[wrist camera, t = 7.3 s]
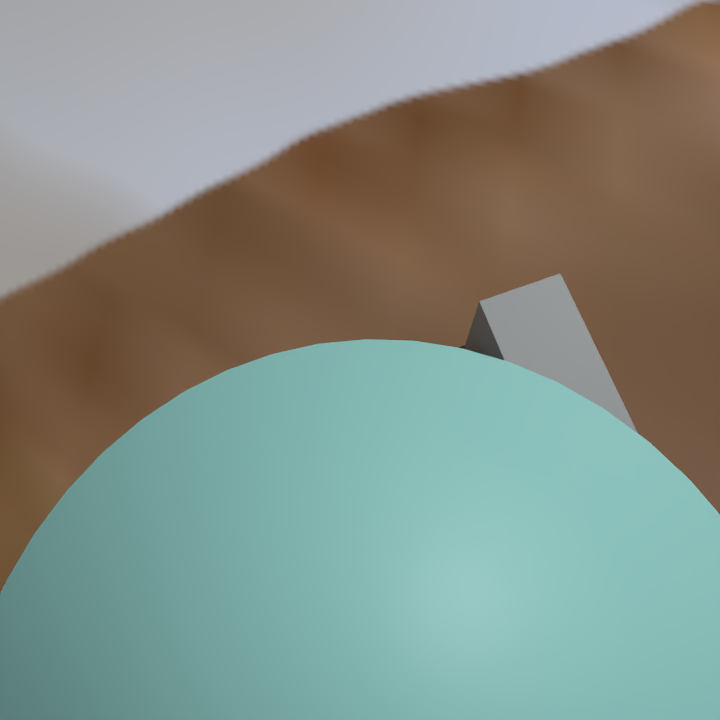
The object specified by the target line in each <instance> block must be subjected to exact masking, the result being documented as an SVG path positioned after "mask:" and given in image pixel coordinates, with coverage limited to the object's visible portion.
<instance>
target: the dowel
mask: <svg viewBox="0 0 720 720" xmlns="http://www.w3.org/2000/svg"><path fill="white" fill-rule="evenodd" d="M0 720H720V514H719V513H718V512H717V511H716V510H715V509H714V507H713V506H712V505H711V504H710V503H709V502H708V500H707V499H706V498H705V497H704V496H703V495H702V493H701V492H700V491H699V490H698V489H697V488H696V486H695V485H694V484H693V483H692V482H691V481H690V480H689V479H688V478H687V477H686V476H685V475H684V474H683V473H682V472H681V471H680V470H679V469H678V468H676V467H675V466H674V465H673V464H672V463H671V462H670V461H669V460H668V459H667V458H666V457H665V456H664V455H662V454H661V453H660V452H659V451H658V450H657V449H656V448H655V447H654V446H653V445H652V444H651V443H650V442H648V441H647V440H646V439H645V438H643V437H642V436H640V435H639V434H638V433H636V432H635V431H634V430H632V429H631V428H630V427H628V426H627V425H625V424H624V423H623V422H621V421H620V420H619V419H617V418H616V417H615V416H613V415H612V414H611V413H609V412H608V411H606V410H605V409H604V408H602V407H600V406H599V405H597V404H595V403H593V402H592V401H590V400H588V399H586V398H585V397H583V396H581V395H579V394H577V393H576V392H574V391H572V390H570V389H569V388H567V387H565V386H563V385H562V384H560V383H558V382H556V381H554V380H551V379H549V378H547V377H544V376H542V375H540V374H537V373H535V372H532V371H530V370H528V369H525V368H523V367H521V366H518V365H516V364H513V363H511V362H508V361H505V360H501V359H498V358H494V357H491V356H487V355H484V354H480V353H476V352H473V351H469V350H466V349H462V348H457V347H450V346H444V345H437V344H431V343H424V342H418V341H402V340H369V339H365V340H354V341H344V342H333V343H322V344H316V345H311V346H307V347H302V348H298V349H293V350H289V351H284V352H280V353H275V354H271V355H268V356H266V357H263V358H260V359H257V360H254V361H252V362H249V363H246V364H243V365H240V366H237V367H235V368H232V369H229V370H226V371H224V372H222V373H220V374H218V375H216V376H214V377H212V378H210V379H208V380H206V381H204V382H202V383H200V384H198V385H196V386H194V387H192V388H190V389H188V390H186V391H184V392H183V393H181V394H180V395H178V396H177V397H175V398H174V399H172V400H171V401H169V402H168V403H166V404H165V405H163V406H162V407H160V408H159V409H157V410H155V411H154V412H152V413H151V414H149V415H148V416H146V417H145V418H143V419H142V420H141V421H140V422H138V423H137V424H136V425H135V426H134V427H132V428H131V429H130V430H129V431H128V432H126V433H125V434H124V435H123V436H122V437H121V438H119V439H118V440H117V441H116V442H115V443H113V444H112V445H111V446H110V447H109V448H108V449H106V450H105V451H104V452H103V453H102V454H101V455H100V456H99V457H98V458H97V459H96V460H95V461H94V462H93V463H92V465H91V466H90V467H89V468H88V469H87V470H86V471H85V472H84V473H83V474H82V475H81V476H80V477H79V478H78V479H77V480H76V481H75V483H74V484H73V485H72V486H71V487H70V488H69V489H68V490H67V491H66V493H65V494H64V495H63V497H62V498H61V499H60V501H59V502H58V503H57V505H56V506H55V507H54V509H53V510H52V511H51V512H50V514H49V515H48V516H47V518H46V519H45V520H44V522H43V523H42V524H41V526H40V527H39V528H38V530H37V531H36V532H35V534H34V535H33V537H32V539H31V540H30V542H29V544H28V546H27V547H26V549H25V551H24V552H23V554H22V556H21V557H20V559H19V561H18V562H17V564H16V566H15V567H14V569H13V571H12V573H11V574H10V576H9V578H8V579H7V581H6V583H5V585H4V587H3V589H2V591H1V594H0Z"/></svg>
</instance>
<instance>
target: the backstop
mask: <svg viewBox="0 0 720 720" xmlns="http://www.w3.org/2000/svg"><path fill="white" fill-rule="evenodd" d="M465 348H466V350H469V351H473V352H476V353H480V354H484V355H487V356H491V357H494V358H498V359H501V360H505V361H508V362H511V363H513V364H516V365H518V366H521V367H523V368H525V369H528V370H530V371H532V372H535V373H537V374H540V375H542V376H544V377H547V378H549V379H551V380H554V381H556V382H558V383H560V384H562V385H563V386H565V387H567V388H569V389H570V390H572V391H574V392H576V393H577V394H579V395H581V396H583V397H585V398H586V399H588V400H590V401H592V402H593V403H595V404H597V405H599V406H600V407H602V408H604V409H605V410H606V411H608V412H609V413H611V414H612V415H613V416H615V417H616V418H617V419H619V420H620V421H621V422H623V423H624V424H625V425H627V426H628V427H630V428H631V429H632V430H634V431H635V432H636V433H637V431H636V429H635V427H634V425H633V423H632V421H631V418H630V416H629V414H628V412H627V410H626V408H625V406H624V404H623V402H622V400H621V398H620V396H619V394H618V392H617V390H616V387H615V385H614V383H613V381H612V379H611V377H610V375H609V373H608V371H607V369H606V367H605V365H604V363H603V361H602V359H601V357H600V354H599V352H598V350H597V348H596V346H595V344H594V342H593V340H592V338H591V336H590V334H589V332H588V330H587V328H586V326H585V324H584V321H583V319H582V317H581V315H580V313H579V311H578V309H577V307H576V305H575V303H574V301H573V299H572V297H571V295H570V293H569V290H568V288H567V286H566V284H565V282H564V280H563V278H562V276H561V274H558V275H555V276H552V277H549V278H546V279H543V280H540V281H537V282H534V283H532V284H529V285H526V286H523V287H520V288H517V289H514V290H511V291H508V292H506V293H503V294H500V295H497V296H494V297H491V298H488V299H485V300H482V301H479V304H478V307H477V310H476V314H475V317H474V320H473V323H472V326H471V329H470V332H469V335H468V338H467V341H466V344H465Z"/></svg>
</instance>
